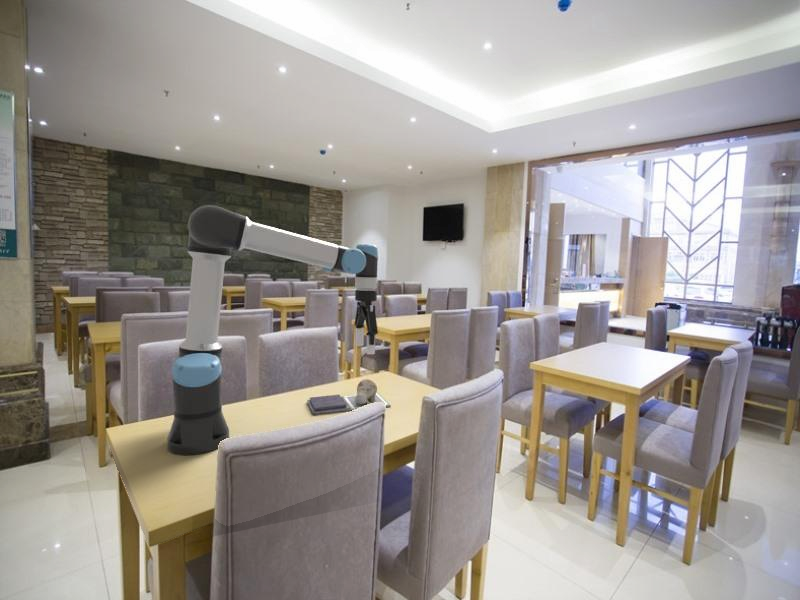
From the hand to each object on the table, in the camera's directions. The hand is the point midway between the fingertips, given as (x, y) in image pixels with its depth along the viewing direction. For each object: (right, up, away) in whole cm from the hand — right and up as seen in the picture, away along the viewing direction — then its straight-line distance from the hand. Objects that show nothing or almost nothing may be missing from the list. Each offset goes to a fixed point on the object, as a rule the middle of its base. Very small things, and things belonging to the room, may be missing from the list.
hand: (364, 349), depth 144 cm
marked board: (0, -19, +2) cm, 19 cm away
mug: (0, -19, +1) cm, 19 cm away
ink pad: (-13, -19, -3) cm, 23 cm away
